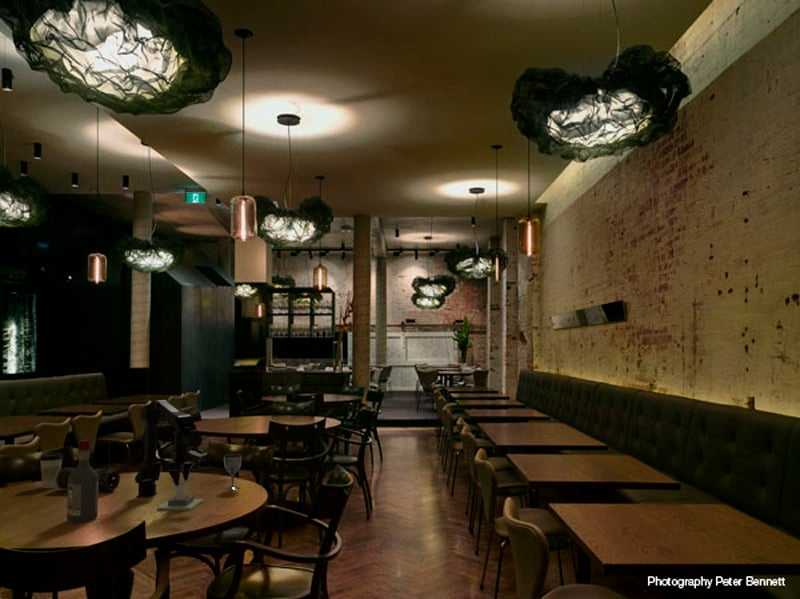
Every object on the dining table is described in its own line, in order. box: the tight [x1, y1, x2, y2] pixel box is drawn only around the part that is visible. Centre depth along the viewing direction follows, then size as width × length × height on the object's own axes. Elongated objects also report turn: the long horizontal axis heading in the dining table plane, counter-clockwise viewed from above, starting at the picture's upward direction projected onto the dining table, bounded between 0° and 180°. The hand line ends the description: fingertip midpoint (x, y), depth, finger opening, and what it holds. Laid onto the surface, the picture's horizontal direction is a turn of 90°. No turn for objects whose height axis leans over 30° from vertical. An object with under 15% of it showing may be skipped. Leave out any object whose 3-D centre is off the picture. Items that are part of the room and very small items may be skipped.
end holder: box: [156, 495, 205, 511], centre depth 256 cm, size 14×14×3 cm
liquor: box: [66, 439, 99, 524], centre depth 237 cm, size 9×9×30 cm
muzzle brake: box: [54, 467, 121, 493], centre depth 283 cm, size 10×28×10 cm, turn 78°
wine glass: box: [223, 453, 243, 492], centre depth 286 cm, size 8×8×15 cm
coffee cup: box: [39, 452, 64, 489], centre depth 292 cm, size 10×10×15 cm
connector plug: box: [174, 481, 188, 500], centre depth 256 cm, size 4×4×8 cm
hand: (181, 483), depth 256 cm, fingers open, 9 cm apart
